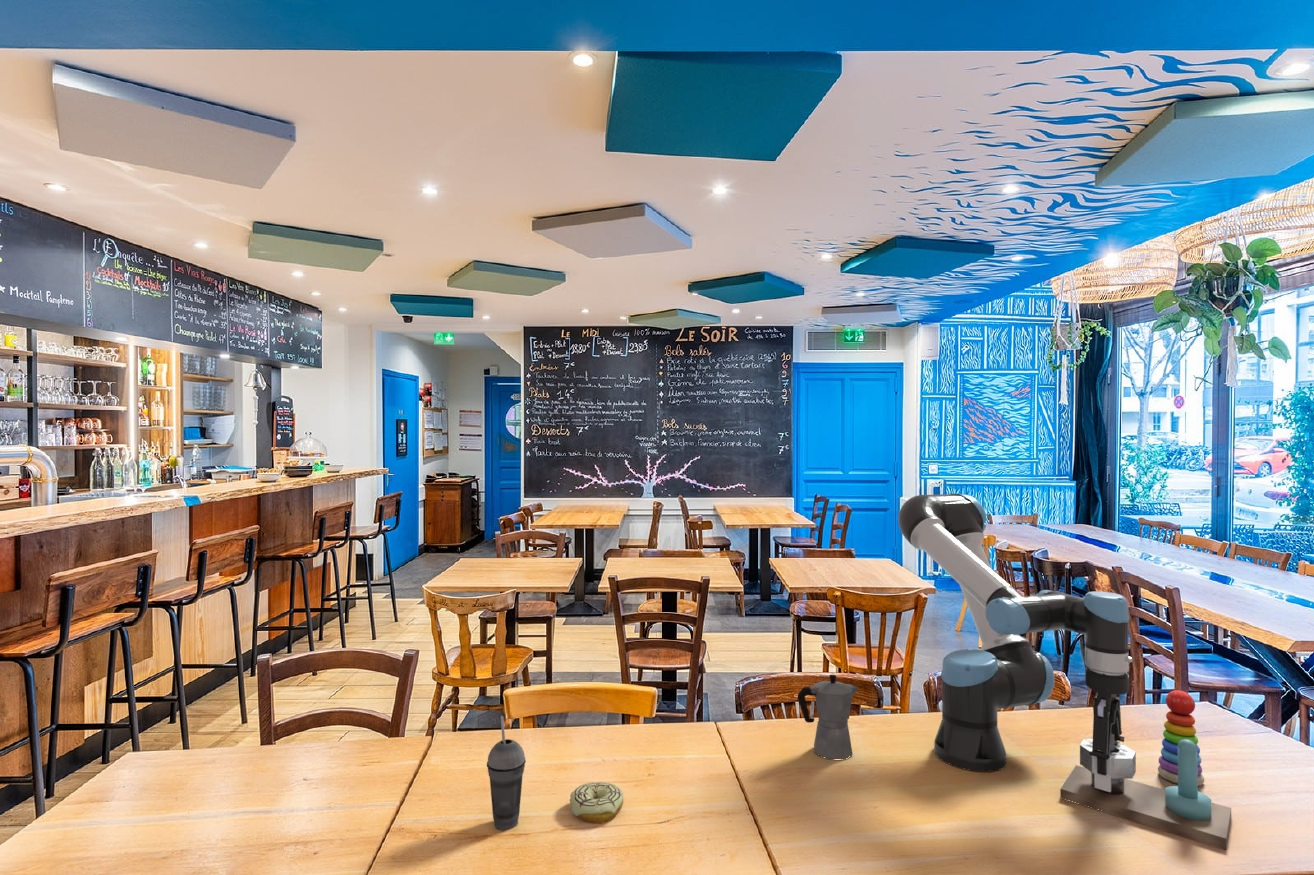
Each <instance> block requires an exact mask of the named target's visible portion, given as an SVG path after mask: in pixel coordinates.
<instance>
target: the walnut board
mask: <svg viewBox="0 0 1314 875" xmlns="http://www.w3.org/2000/svg"><path fill="white" fill-rule="evenodd" d="M1059 791H1060V793H1059V794H1060V798H1062V799H1061V800H1063V799H1066V800H1065V801H1067V800H1070V801H1073V802H1076V803H1079V804H1081V805H1080V806H1083V805H1086V806H1089V807H1092V808H1094V809H1093V810H1096V809H1099V810H1102V811H1103V813H1106V814H1109V815H1112V816H1115V817H1119V818H1122V819H1126V820H1129V821H1132V822H1135V823H1138V824H1141V825H1145V826H1147V827H1151V828H1154V829H1157V830H1161V831H1164V832H1167V833H1171V834H1173V835H1177V836H1181V837H1183V838H1187V839H1190V840H1194V841H1196V842H1199V843H1202V844H1206V845H1210V846H1213V847H1216V848H1219V849H1221V850H1227V848H1228V841H1229V836H1230V828H1231V823H1232V807H1229V806H1225V805H1222V804H1218V803H1214V802H1211V812H1212V818H1211V819H1210V820H1207V821H1197V820H1191V819H1187V818H1184V817H1181V816H1178V815H1176V814H1174V813H1172V812H1171V811H1169V810H1168V809H1167V808H1166V806H1165V788H1160V787H1156V786H1152V785H1151V784H1150V785H1149V784H1146V783H1143V782H1138V781H1134V780H1132V779H1124V793H1123V794H1121V795H1113V794H1107V793H1104V792H1101V791H1099V790H1097V789H1095V788H1094V787H1093V786H1092V784H1091V772H1090V771H1089V770H1088V769H1086V768H1085V767H1083V766H1082V765H1077V764H1075V766H1074V768H1073V769H1072V771H1071V772H1070V774H1069V775H1068V777H1067V778H1066V780H1065V781H1064V782H1063V784H1062V785H1061V787H1060V789H1059ZM1070 801H1069V802H1070ZM1073 802H1072V803H1073ZM1076 803H1075V804H1076ZM1079 804H1078V805H1079ZM1086 806H1085V807H1086ZM1089 807H1088V808H1089ZM1092 808H1091V809H1092ZM1099 810H1098V811H1099ZM1102 811H1101V812H1102Z"/></svg>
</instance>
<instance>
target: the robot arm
mask: <svg viewBox="0 0 1314 875" xmlns="http://www.w3.org/2000/svg"><path fill="white" fill-rule="evenodd" d="M897 520H898V521H897V522H898V527H899V530H900V531H901V534H902V536H903V537H904V539H905V540H906V541H907V542H908V543H909V544H910V545H911V546H912V547H914V549H917V550H919V551H924V552H925V553H926V554H927V555H928V556H929V558H931V559H932V560H933V561H934V562H935V563H937V565H939V566H940V568H942V569H943V570H944V571H945V572H946V573H947V574H948V575H949V576H951V578H952V579H953V580H954V581H955V582H957V584H959V587H960V590H961V591H962V594H963V597H964V600H965V602H966V605H967V608H968V610H969V612H970V615H971V617H972V619H973V622H974V623H973V624H974V626H975V628H976V631H977V633H978V636H979V639H980V641H981V643H982V645H981V647H980V649H965V648H964V649H958V650H954V651H951V652H949V653H948V654H946V655H945V656H944V657H943V660H942V665H941V666H942V668H941V673H940V676H941V700H942V701H941V703H942V704H941V706H942V707H941V708H942V709H941V712H942V714H941V715H942V716H941V722H940V725H939V727H938V730H937V732H936V736H935V739H934V744H933V746H934V751H935V752H934V754H935V756H936V757H937V756H938V759H940V760H941V759H942V760H941V761H943V762H945V763H946V764H948V763H950V764H949V765H951V764H952V765H951V766H953V767H957V768H959V769H963V768H965V769H964V770H967V769H969V770H968V771H973V770H974V772H995V771H999V769H1000V770H1002V769H1003V768H1005V767H1006V766H1005V765H1007V751H1006V749H1005V745H1004V743H1003V739H1002V737H1001V733H1000V731H999V726H998V710H1001V709H1010V708H1016V707H1023V706H1024V707H1026V706H1027V707H1029V706H1032V705H1035V704H1039V703H1043V702H1045V701H1046V700H1048V699H1049V698H1050V697H1051V696H1052V693H1053V689H1054V688H1055V681H1056V680H1055V679H1056V678H1055V673H1054V669H1053V667H1052V664H1051V662H1050V661H1049V659H1048V658H1047V657H1046V656H1044V655H1043V654H1042V653H1040V652H1039V651H1035V650H1033V648H1032V645H1031V643H1030V641H1029V640H1028V639H1027V638H1025V637H1023V636H1021V635H1024V634H1031V633H1039V632H1040V633H1041V632H1050V631H1059V630H1061V631H1062V630H1065V631H1069V632H1073V633H1076V634H1080V635H1084V644H1085V645H1084V664H1085V666H1086V668H1085V669H1084V670H1085V671H1084V672H1085V674H1084V675H1085V677H1084V678H1085V679H1084V680H1085V681H1084V683H1085V685H1086V687H1088V688H1089V689H1090V690H1092V691H1093V690H1094V691H1095V692H1096V693H1097V694H1096V697H1094V699H1093V705H1092V709H1093V714H1092V715H1093V718H1092V719H1093V724H1092V739H1093V744H1092V752H1091V751H1090V755H1092V756H1094V784H1095V788H1097V789H1101V790H1104V791H1108V792H1111V758H1110V743H1111V733H1113V734H1114V742H1116V743H1120V744H1121V743H1125V736H1121V735H1122V734H1123V731H1122V718H1121V716H1122V715H1121V713H1122V712H1121V696H1122V695H1126V694H1128V693H1129V692H1130V675H1129V674H1128V672H1129V668H1130V666H1129V665H1130V663H1132V662H1133V657H1131V656H1129V655H1130V654H1129V652H1130V651H1129V649H1130V648H1129V634H1130V633H1129V632H1130V631H1129V630H1130V629H1129V628H1130V618H1131V617H1130V614H1129V602H1128V599H1127V598H1126V597H1125V596H1124V595H1122V594H1119V593H1115V592H1107V591H1100V590H1099V591H1095V590H1094V591H1089V592H1087V593H1085V595H1084V597H1080V596H1077V595H1072V594H1068V593H1064V592H1061V591H1058V590H1049V589H1043V590H1040V591H1039V592H1037V593H1036V594H1034V595H1028V596H1027V595H1026V596H1025V595H1022V594H1021V593H1020V592H1019V591H1018V590H1016V589H1015V587H1013V586H1012V585H1011V584H1009V583H1008V582H1007V581H1006V580H1005V579H1004V578H1003V577H1001V576H1000V575H999V574H998V573H997V572H996V571H994V570H993V569H992V567H991V565H990V562H989V560H988V558H987V555H986V553H985V550H984V548H983V545H982V543H983V541H984V539H985V534H984V532H985V529H986V527H987V523H986V521H987V514H986V511H985V508H984V507H983V505H982V504H981V502H980V501H979V500H977V499H976V498H975V497H973V496H971V495H969V494H962V493H949V494H947V493H946V494H944V493H943V494H918V495H914V496H912V497H910V498H909V499H907V500H906V501H905V502H904V503H903V504H902V506H901V508H900V509H899V512H898V517H897ZM1098 750H1099V751H1098ZM1102 751H1103V752H1102ZM1001 768H1002V769H1001Z"/></svg>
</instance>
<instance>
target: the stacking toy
mask: <svg viewBox="0 0 1314 875" xmlns="http://www.w3.org/2000/svg"><path fill="white" fill-rule="evenodd" d="M1165 705H1166V706H1167V708H1168V709H1169V711H1167V712H1166V714H1165V717H1166V721H1164V723H1163V726H1164V730H1163V731H1162V732H1163V733H1162V734H1163V737H1164V738H1163V739H1162V740H1161V745H1162V747H1161V750H1160V754H1161V756H1159V757H1158V767H1157V772H1158V774H1159V775H1160V776H1161V777H1162V778H1163V779H1165V780H1166V781H1169V782H1171V783H1174V784H1177V785H1178V743H1179V741H1181V740H1183V739H1187V740H1190V741H1192V742H1193V743H1195V745H1196V746H1197V753H1198V787H1199V786H1202V785H1203V784H1204V783H1205V777H1204V776H1203V774H1202V773H1203V768H1202V766H1201V763H1202V756H1200V753H1201V749H1200V747H1199V746H1198V744H1199V739H1198V737H1197V735H1196V734H1197V728H1196V727H1195V726H1194V725H1195V723H1196V718H1195V717H1194V716H1193V715H1192V713H1193V712H1194V711H1195V708H1196V702H1195V699H1194V698H1193V697H1192V696H1191V695H1190V694H1189V693H1188V692H1186V691H1183V690H1171V691H1169V692H1168V694H1167V695H1166V697H1165Z"/></svg>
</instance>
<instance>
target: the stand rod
mask: <svg viewBox="0 0 1314 875" xmlns="http://www.w3.org/2000/svg"><path fill="white" fill-rule="evenodd" d="M1110 753H1115V749H1114V734H1113V733H1111V743H1110ZM1091 784H1092V786H1093V787H1094V788H1095V784H1094V773H1092V772H1091ZM1095 789H1097V788H1095ZM1097 790H1099V791H1101V792H1104V793H1107V794H1113V795H1121V794H1123V793H1124V779H1113V778H1111V792H1108V791H1104V790H1101V789H1097Z"/></svg>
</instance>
